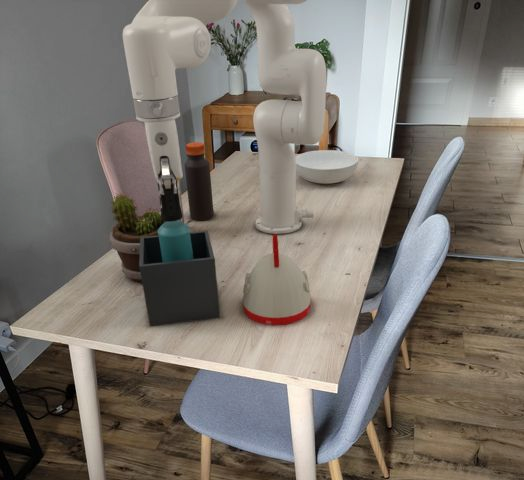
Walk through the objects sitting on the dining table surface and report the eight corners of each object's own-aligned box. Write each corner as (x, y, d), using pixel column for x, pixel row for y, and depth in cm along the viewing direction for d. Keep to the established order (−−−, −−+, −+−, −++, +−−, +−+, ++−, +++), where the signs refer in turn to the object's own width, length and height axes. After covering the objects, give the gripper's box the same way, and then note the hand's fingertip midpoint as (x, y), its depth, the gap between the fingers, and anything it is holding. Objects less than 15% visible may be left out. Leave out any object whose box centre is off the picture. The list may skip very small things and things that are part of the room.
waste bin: (213, 285, 119) (207, 230, 111) (220, 317, 108) (214, 258, 100) (149, 292, 117) (140, 237, 110) (149, 326, 106) (139, 266, 98)
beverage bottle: (193, 308, 109) (182, 213, 98) (163, 305, 110) (147, 212, 99) (202, 292, 114) (192, 201, 103) (173, 290, 115) (160, 200, 104)
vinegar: (186, 220, 152) (178, 147, 140) (195, 211, 157) (187, 140, 145) (209, 222, 150) (202, 148, 139) (217, 213, 155) (211, 141, 144)
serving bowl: (282, 183, 176) (281, 162, 172) (314, 167, 189) (314, 147, 185) (338, 194, 165) (339, 171, 162) (367, 176, 179) (369, 154, 175)
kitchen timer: (307, 289, 116) (308, 223, 107) (313, 323, 105) (315, 252, 96) (243, 292, 116) (239, 226, 107) (243, 326, 105) (238, 255, 96)
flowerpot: (189, 261, 130) (179, 178, 118) (167, 291, 117) (154, 202, 106) (133, 257, 132) (118, 176, 121) (106, 286, 120) (87, 199, 109)
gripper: (182, 117, 84) (194, 220, 94) (177, 96, 98) (188, 188, 108) (133, 121, 83) (151, 225, 93) (135, 99, 97) (151, 192, 107)
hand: (171, 205), depth 100 cm, fingers open, 9 cm apart
